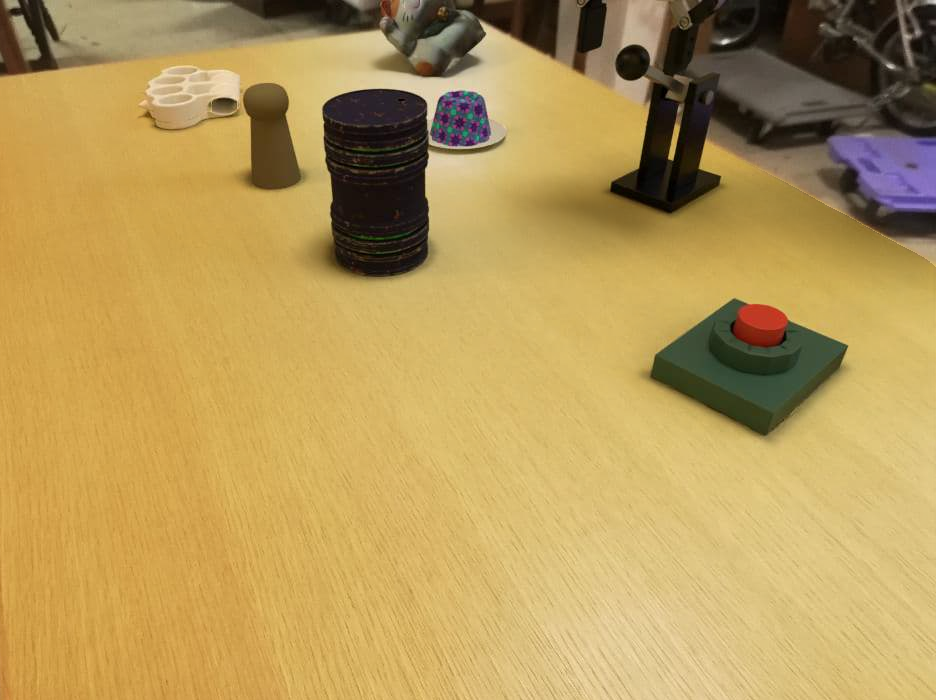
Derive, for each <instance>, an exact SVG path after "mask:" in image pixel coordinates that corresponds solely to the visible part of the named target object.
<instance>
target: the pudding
mask: <svg viewBox="0 0 936 700" xmlns="http://www.w3.org/2000/svg"><path fill="white" fill-rule="evenodd" d="M427 130H428V132H429V146H433V147H437V148H442V149H448V150H470V149H471V150H472V149H478V148H483V147H484V148H485V147H489V146H491V145H493V144H497V143H498V142H499V141H501V140H502V139H504V138H505V136H506V135H507V129H506V127H505V126H504V125H503V124H502V123H500V122H499V121H497V120H495V119H492V118H489V115H488V109H487V105H486V100H485V98H484V96H483V95H481V94H479V93H478V92H475V91H473V90H472V91H471V90H469V91H467V90H464V89H463V90H462V89H461V90H455V91H447V92H445V93H444V94H442V95H441V96H440V97H438V100H437V102H436V108H435V111H434V115H433V118H431V119H427Z"/></svg>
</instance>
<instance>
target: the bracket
mask: <svg viewBox="0 0 936 700" xmlns="http://www.w3.org/2000/svg"><path fill="white" fill-rule="evenodd" d="M661 71H662V72H663V70H661ZM686 72H687V69H686V70H684V71H681V72H679V73H676V74H674V75H679V76H683V77H686ZM674 75H671V77H674ZM720 78H721V74H720V73H717V72H713V71H712V72H709V73H707V74H705V75H703V76H701V77H697V78H696V79H694V80H693V81H691V82H689V86H688V91H687V95H686V100H685V105H683V111H682V116H681V121H680V124H679V130H678V135H677V139H676V145H675V149H674V155H673V159H669V156H670V152H671V151H670V150H671V146H672V141H673V135H674V133H675V132H674V131H675V126H676V121H677V117H678V111H679V107H680V104H677V103H675V102H673V101H671V100H669V99H667V98H665V97H666V94H667V92H668V89H666V88H664V87H662V86H660V85H659V84H657V83H655V82H653V85H652V91H651V97H650V102H649V108H648V114H647V119H646V124H645V125H646V126H645V130H644V137H643V142H642V148H641V152H640V153H641V154H640V158H639V164H638V168H636V169H635V170H632V171H630V172H629V173H626V174H624V175H622V176H621V177H618V178H617V179H615V180H612V181H611V182H610V189H609V192H610V193H612V194H616V195H617V196H621V197H624V198H626V199H629V200H632V201H634V202H637V203H641V204H643V205H646V206H648V207H651V208H654V209H656V210H659V211H663V212H665V213H667V214H672V213H674V212H676V211H678V210H679V209H681V208H682V207H684V206H686V205H688V204H690V203H691V202H693V201H695V200H696V199H699V198H700V197H702V196H704V195H705V194H707V193H710V191H713V190H714V189H715V188H717V187H719V186H720V183H721V179H722V175H720V174H716V173H713V172H710V171H707V170H705V169H701V168H700V165H701V161H702V156H703V151H704V147H705V143H706V139H707V134H708V129H709V126H710V121H711V116H712V112H713V109H714V103H715V99H716V95H717V90H718V86H719V82H720Z"/></svg>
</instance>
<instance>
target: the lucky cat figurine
mask: <svg viewBox="0 0 936 700" xmlns="http://www.w3.org/2000/svg"><path fill="white" fill-rule="evenodd" d="M379 6H380V22H379V28H380V30H381V33H382V34H383V36H384V37H385V39H386V40H387V41H388V43H390V44H391V45H392V46H393V47H394V48H395V49H396V50H397V51H398V52H399V53H400V54H401V55H403V57H405V59H406V60H407V61H409V62H410V63H411V64H412V66H413V68H414V70H415V71H416V72H417V73H418V74H420V75H422V76H423V77H425V76H428V77H442V76H443V74H444V73H447V72H449V71H450V70H451V69H452V68H453V69H454V67H455V66H457V65H458V64H459V62H460V61H462V59H463V58H464V57H465V56H466V55H467V54H468V53H470V52H471V51H472V50H473V49H474V48H475V47H476V46H478V45H479V44H480V43H481V42H482V41H483V40H484V38H485V37H486V35H487V32H486V31H485V29H484V27H483V25H482V24H481V22H480V20H479V18H478V17H477V16H476V15H475V14H474V13H473V12H471V11H469V10H467V9H456V4H455V1H454V0H382V1H380V3H379Z"/></svg>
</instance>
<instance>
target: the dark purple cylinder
mask: <svg viewBox="0 0 936 700" xmlns="http://www.w3.org/2000/svg"><path fill="white" fill-rule="evenodd" d="M321 116H322V120H323V125H322V126H323V133H324V134H323V137H322V139H323V148H324V152H325V159H324V162H325V164H326V170H327V171H328V173H329V175H330V187H331V198H332V201H331V203H330V206H329V207H330V212H329V216H330V217H329V218H330V219H331V220H330V225H331V226H330V227H331V235H332V238H333V243H334V246H335V247H334V256H335V260H336V262H337V264H338V265H339V266H341V267H342V268H343V269H345V270H347V271H349V272H351V273H353V274H357V275H361V276H367V277H391V276H396V275H401V274H404V273H405V274H406V273H408V272H409V271H410V272H411V271H412V270H414V269H416V268H418V267H419V266H421V265H422V264H423V263H424V262H425V261H426V259H427V258H428V255H429V244H428V240H429V232H430V216H429V212H430V207H429V200H428V198H427V196H426V169H427V167H428V164H429V159H430V153H429V146H430V144H429V132H428V130H427V121H428V118H427V117H428V102H427V100H426V99H425V98H424V97H423V96H421V95H419V94H417V93H415V92H410V91H407V90H403V89H402V90H401V89H395V88H366V89H365V88H363V89H358V90H352V91H348V92H343V93H341V94H338V95H335V96H333V97H331V98H329V99H328V100H326V101H325V102H324V103H323V104H322V108H321Z"/></svg>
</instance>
